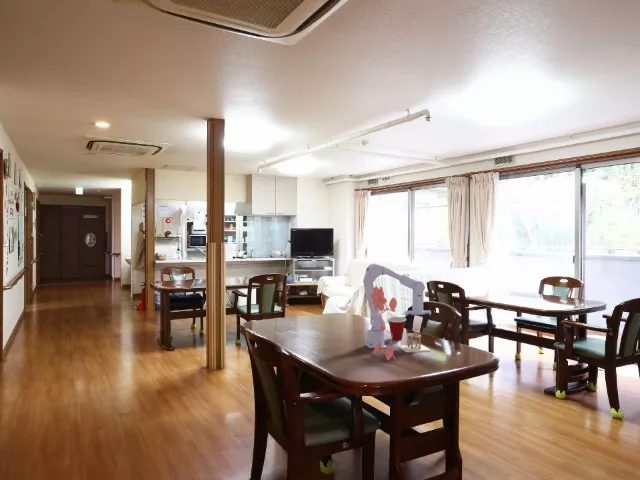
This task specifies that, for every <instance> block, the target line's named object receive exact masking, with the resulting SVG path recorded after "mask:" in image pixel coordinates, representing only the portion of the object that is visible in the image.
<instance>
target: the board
mask: <svg viewBox="0 0 640 480" xmlns="http://www.w3.org/2000/svg"><path fill="white" fill-rule="evenodd" d="M398 348H399V349H400V350H402V351H403V352H405V353H425V352H426V353H427V352H431V349H430V348H428V347H426V346H425V345H423V344H421V349H419V344H417V347H415V344H413V349H411V344H410V347H408V344H407V345H398Z"/></svg>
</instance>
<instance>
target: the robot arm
mask: <svg viewBox="0 0 640 480" xmlns="http://www.w3.org/2000/svg"><path fill="white" fill-rule="evenodd" d="M380 276H389V277H391V278H393V279H395V280H397V281H399V283H400V285H403V286H405V287H407V288H408V289H411V290H412V310H405V311H403V312H404V313H403V314H404V316H405V318H406V321H407V322H408V326H409V329H411V330H412V329H413V327H414V326H413V325H414V324H413V322H414V321H413V320H414V316H419V315H421V317H422V328H423V329H426V328H427V324H428V322H429V319H430V318H431V315H432V311H431V310H426V309H425V310H424V291H425V289H426V286H425V284H424V282H423V281H420V280H419V279H417V278H416V277H412V276H411V275H410V274H406V273H404V274H400V273H398V272H396V271H394V270H393V269H391V268H390V267H386V266H383V265H380V264H376V263H370V264H369V265H368V266H367V267H366V268H365V274H364V276H363V280H362V283H363V286H364V291H365V295H366V299H367V303H368V305H369V304H370V303H371V302H372V301H373V299H372V298H371V294H372V293H374V291H373V288H375V286H374V282H375V281H376V279H377V278H379V277H380ZM368 308H369V311H370V313H369V314H370V315H369V316H370V320H369V323H370V326H371V327H370V329H368V330H366V332H365V345H366V347H368V349H375V347H376V346H377V345H378V344H379V329H380V326H381V325H385V326H386V322H385V320H384V318H383V317H382V315H381V319H382V323H381V319H380V313H381V311H380V310H379V308H378V309H377V310H375V307H374V304H373V303H372V304H371V305H369V306H368ZM380 343H382V345H381V346H382V349H384V348H385V349H387V348H388V347H387V345H385V330H381V329H380ZM380 348H381V347H380Z"/></svg>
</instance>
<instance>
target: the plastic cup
mask: <svg viewBox="0 0 640 480" xmlns="http://www.w3.org/2000/svg"><path fill="white" fill-rule="evenodd" d="M386 320H387V322H388V326H389V332H390V333H391V334H390V333H389V334H390V337H392V341H402V340H403V335H404V330H405V324H406V321H407V318H406V317H401V316H390V317H388V318H387V319H386ZM392 334H393V336H392Z"/></svg>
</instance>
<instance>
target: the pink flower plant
mask: <svg viewBox="0 0 640 480" xmlns="http://www.w3.org/2000/svg"><path fill="white" fill-rule="evenodd" d="M373 291H374V293H372V294H371V298H372V299H373V301H372V302H371V303H370V304H368V305H367V307H368V308H369V305H371V304H372V303H373V304H374V307H375V310H377V309H378V308H379V311H380V319H381V316H382V314H383V313H384V312H386V311H390V312H393V313H395V312H396V310H395V309H396V307H397V304H398V301H397V299H396V298H395V297H392V298H391V299H390V300H389V302H388V299H387V298H386V297H385V293H384V289H383V287H382V286H380V287H378V286H377V285H375V286H374V288H373ZM386 303H389V304H388V306H387V304H386ZM382 319H383V318H382ZM382 319H381V323H382ZM386 327H387V326H386V324H385V325H381V326H380V329H381V330H384V331H386V332H387V333H388V334H390V335H391V333H390V331H389V330H387V328H386ZM380 329H379V344H378V345H377V346H376V347H375V348H373V351H372V355H374V354H376V353H377V352H380V351H382V353H383V355H385V357H386V360H387V361H390V359H391V358H392V357H393V359H394V360H396V357H395V355H394V350H393V349H394V348H393V347H392V346H391V345H392V341H393V340H392V337H391V336H390V337H391V338H390V343H389V346H388V347H387V348H386V350H385V351H384V348H382V346H381V345H382V343H380ZM392 336H393V334H392ZM380 347H381V350H380ZM362 359H363V360H364V361H366V362H370V363H371V360H370V361H369V360H367V359H364V358H363V356H362ZM372 363H373V364H376V362H375V361H372ZM379 364H380V365H381V364H382V365H384V363H383V362H382V363H381V362H379Z"/></svg>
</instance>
